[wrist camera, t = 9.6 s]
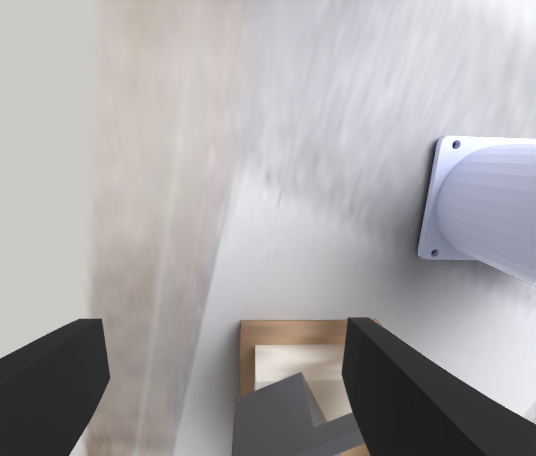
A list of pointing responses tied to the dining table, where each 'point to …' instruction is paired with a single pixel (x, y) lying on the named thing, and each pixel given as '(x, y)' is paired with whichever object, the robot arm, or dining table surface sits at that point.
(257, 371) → the display stand
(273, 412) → the grey notched block
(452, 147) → the robot arm
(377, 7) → the dining table surface
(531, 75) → the dining table surface
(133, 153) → the dining table surface
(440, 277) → the dining table surface
